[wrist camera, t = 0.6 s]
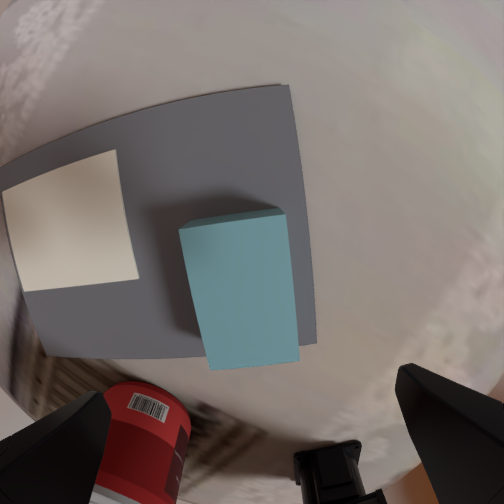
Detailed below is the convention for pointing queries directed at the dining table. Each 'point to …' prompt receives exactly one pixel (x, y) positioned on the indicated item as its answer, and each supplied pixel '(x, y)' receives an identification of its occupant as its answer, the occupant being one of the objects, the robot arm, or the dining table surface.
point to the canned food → (142, 446)
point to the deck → (242, 288)
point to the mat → (148, 219)
